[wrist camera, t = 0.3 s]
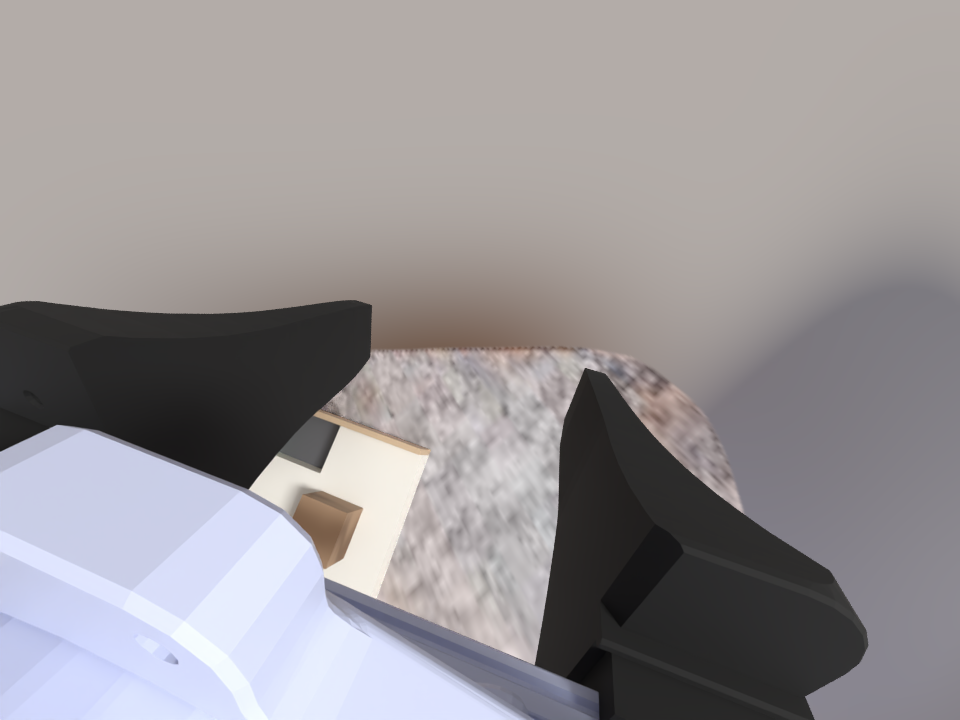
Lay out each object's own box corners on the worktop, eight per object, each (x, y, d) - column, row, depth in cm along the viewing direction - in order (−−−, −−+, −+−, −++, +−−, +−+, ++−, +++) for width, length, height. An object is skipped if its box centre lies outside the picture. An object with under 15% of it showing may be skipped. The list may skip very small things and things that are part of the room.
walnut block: (343, 558, 35) (325, 569, 32) (301, 539, 36) (279, 547, 33) (363, 508, 36) (347, 513, 33) (322, 490, 37) (302, 494, 34)
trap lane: (359, 646, 35) (336, 672, 31) (176, 554, 39) (134, 566, 35) (430, 450, 39) (419, 449, 35) (259, 386, 44) (230, 379, 40)
